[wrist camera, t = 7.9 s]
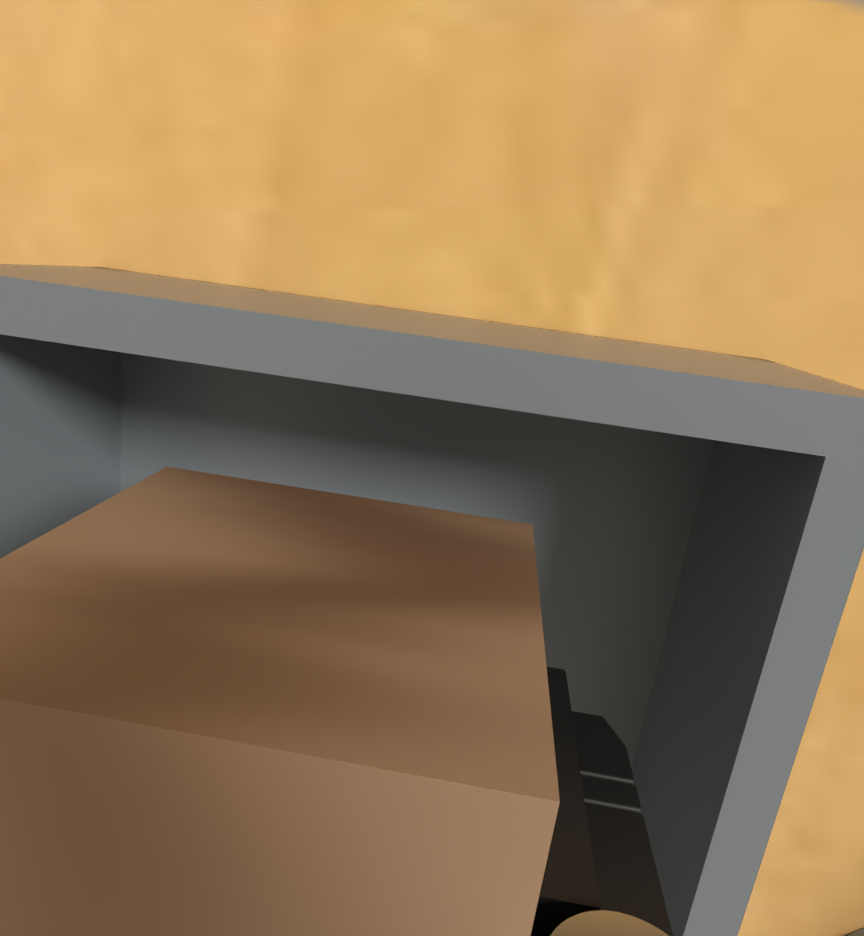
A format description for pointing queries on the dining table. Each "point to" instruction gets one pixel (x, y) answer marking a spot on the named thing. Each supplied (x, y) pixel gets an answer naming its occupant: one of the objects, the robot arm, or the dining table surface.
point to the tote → (498, 499)
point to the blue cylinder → (857, 933)
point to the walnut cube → (273, 718)
